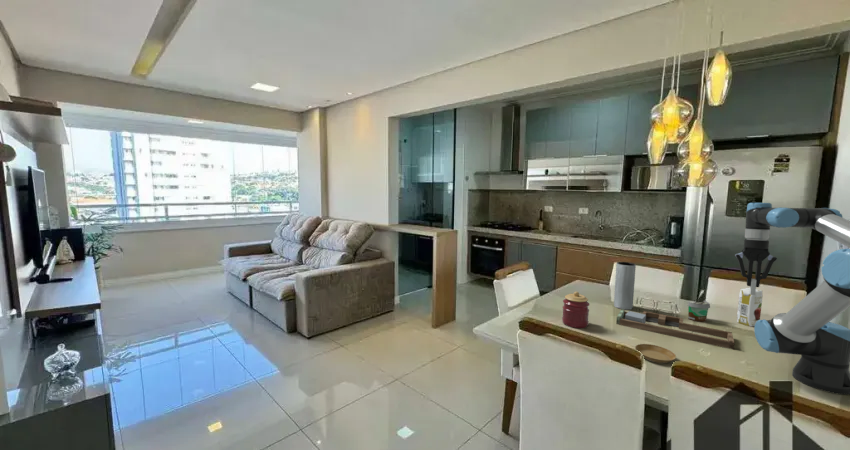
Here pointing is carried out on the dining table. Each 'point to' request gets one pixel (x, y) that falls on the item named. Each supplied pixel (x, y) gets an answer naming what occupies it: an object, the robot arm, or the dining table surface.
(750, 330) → the dining table surface
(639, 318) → the grey block
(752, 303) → the juice carton
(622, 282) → the vase
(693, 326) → the track
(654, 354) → the plant saucer
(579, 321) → the canister
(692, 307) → the food container
